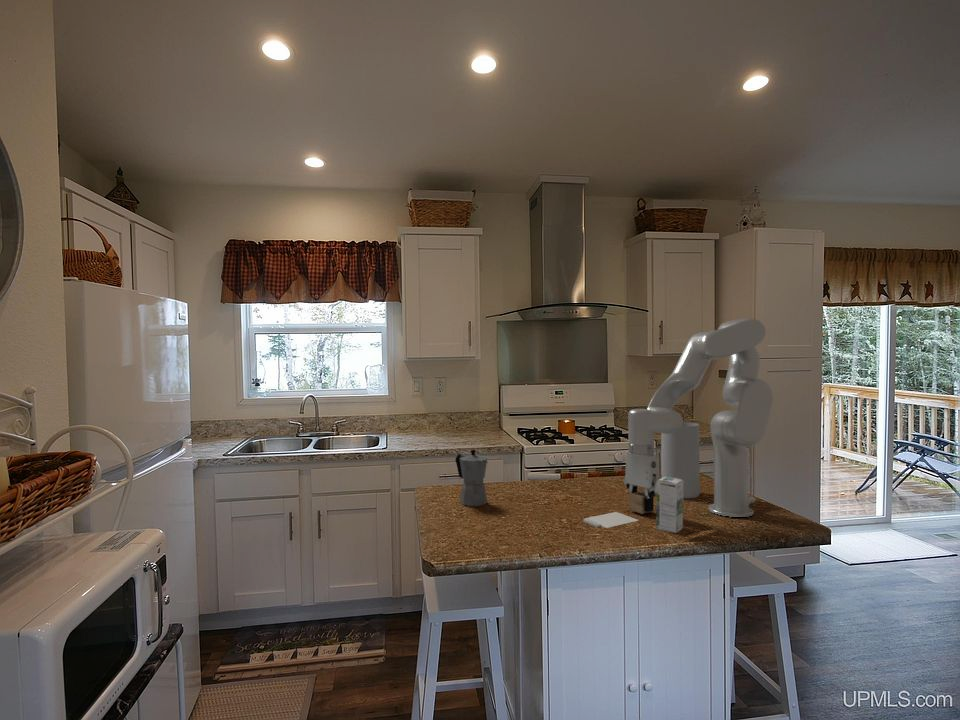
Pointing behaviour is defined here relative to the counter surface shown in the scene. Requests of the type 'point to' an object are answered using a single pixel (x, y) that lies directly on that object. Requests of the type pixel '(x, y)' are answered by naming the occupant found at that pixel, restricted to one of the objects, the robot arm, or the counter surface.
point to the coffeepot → (472, 478)
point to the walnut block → (638, 502)
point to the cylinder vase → (682, 458)
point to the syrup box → (669, 504)
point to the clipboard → (609, 520)
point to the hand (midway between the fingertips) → (641, 507)
